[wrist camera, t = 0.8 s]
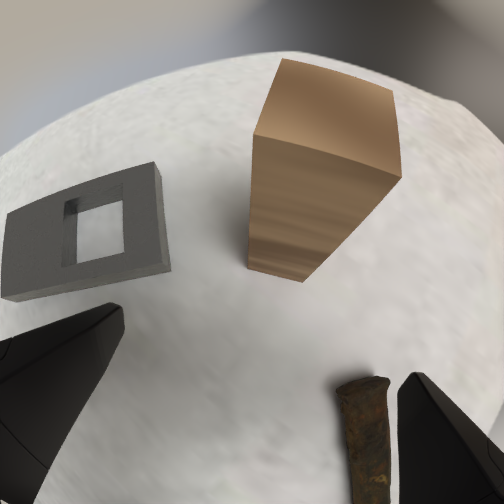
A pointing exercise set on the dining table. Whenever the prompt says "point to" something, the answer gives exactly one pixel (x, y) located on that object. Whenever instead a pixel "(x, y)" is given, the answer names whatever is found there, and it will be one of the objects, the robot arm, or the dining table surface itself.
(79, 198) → the grey slotted base plate
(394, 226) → the dining table surface
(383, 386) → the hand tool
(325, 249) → the walnut post
